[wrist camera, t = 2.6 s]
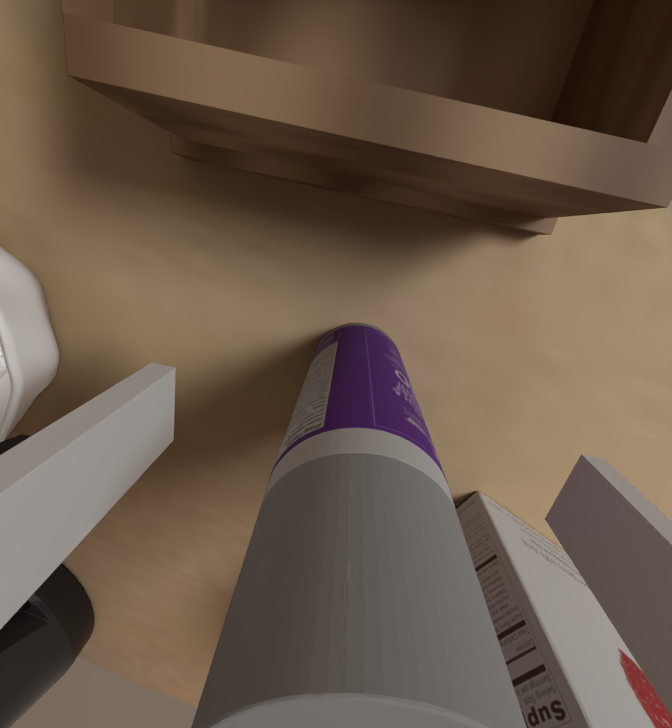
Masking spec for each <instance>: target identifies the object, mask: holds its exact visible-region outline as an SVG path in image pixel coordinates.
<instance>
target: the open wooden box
mask: <svg viewBox="0 0 672 728" xmlns="http://www.w3.org/2000/svg"><path fill="white" fill-rule="evenodd" d="M62 10H63V24H64V38H65V52H66V66H67V75H68V76H70V77H72V78H74V79H76V80H77V81H79V82H81V83H83V84H85V85H86V86H88V87H90V88H92V89H94V90H95V91H97V92H99V93H101V94H103V95H104V96H106V97H108V98H110V99H112V100H113V101H115V102H117V103H119V104H121V105H122V106H124V107H126V108H128V109H130V110H131V111H133V112H135V113H137V114H139V115H140V116H142V117H144V118H146V119H148V120H149V121H151V122H153V123H155V124H157V125H158V126H160V127H162V128H164V129H166V130H167V131H169V132H171V152H172V153H174V154H177V155H179V156H181V157H184V158H189V159H194V160H198V161H203V162H207V163H212V164H217V165H221V166H226V167H230V168H235V169H240V170H244V171H249V172H253V173H258V174H263V175H267V176H272V177H276V178H281V179H286V180H290V181H295V182H299V183H304V184H309V185H313V186H318V187H322V188H327V189H332V190H336V191H341V192H345V193H350V194H354V195H359V196H364V197H368V198H373V199H377V200H382V201H387V202H391V203H396V204H400V205H405V206H410V207H414V208H419V209H423V210H428V211H433V212H437V213H442V214H446V215H451V216H456V217H460V218H465V219H469V220H474V221H479V222H483V223H488V224H492V225H497V226H502V227H506V228H511V229H515V230H520V231H525V232H529V233H534V234H538V235H551V234H552V231H553V229H554V226H555V224H556V221H557V219H558V217H566V216H577V215H589V214H600V213H611V212H622V211H633V210H644V209H655V208H666V207H668V206H669V204H670V202H671V200H672V0H62Z"/></svg>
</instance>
